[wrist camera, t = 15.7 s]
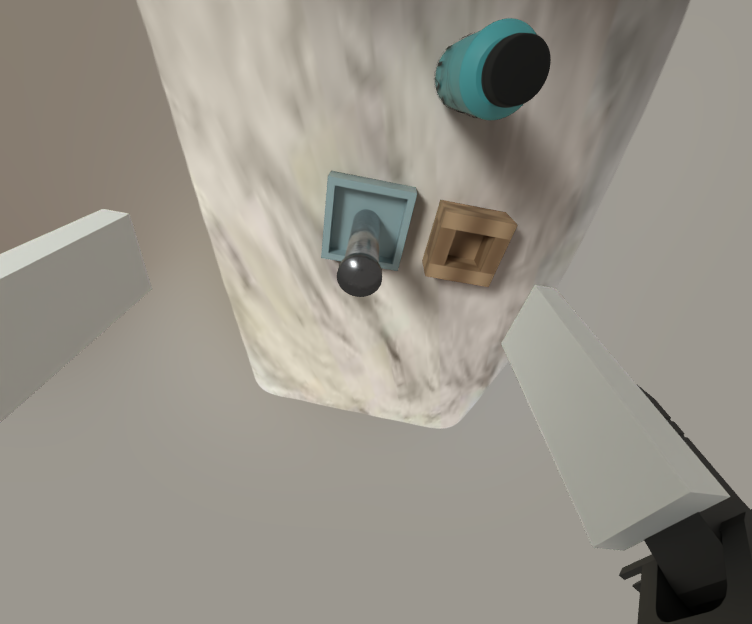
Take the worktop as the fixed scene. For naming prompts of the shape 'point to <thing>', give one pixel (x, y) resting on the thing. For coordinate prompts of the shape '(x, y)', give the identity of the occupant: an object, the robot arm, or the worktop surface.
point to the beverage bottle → (493, 70)
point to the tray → (369, 194)
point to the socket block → (467, 243)
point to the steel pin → (362, 257)
